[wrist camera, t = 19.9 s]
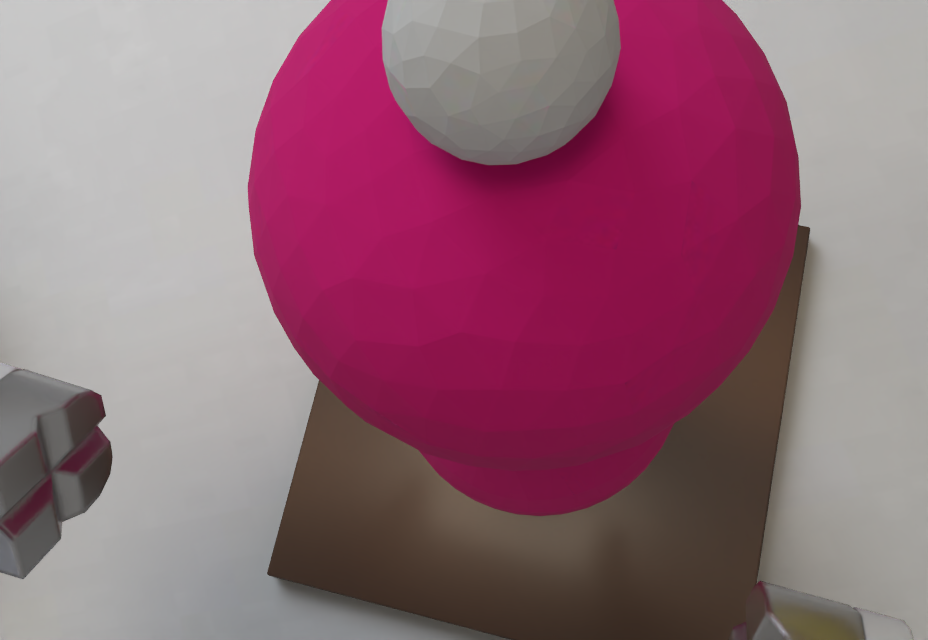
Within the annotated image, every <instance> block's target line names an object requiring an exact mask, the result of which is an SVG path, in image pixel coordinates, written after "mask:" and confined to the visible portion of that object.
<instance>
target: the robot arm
mask: <svg viewBox="0 0 928 640" xmlns="http://www.w3.org/2000/svg"><path fill="white" fill-rule="evenodd" d="M105 416H106V414H105V410H104V406H103V401H102V397H101V395H99V394H97V393H95V392H93V391H91V390H89V389H86V388H82V387H79V386H76V385H73V384H70V383H67V382H63V381H60V380H57V379H54V378H51V377H48V376H44V375H41V374H38V373H35V372H32V371H29V370H25V369H20V368H17V367H14V366H11V365H7V364H4V363H1V362H0V572H1V573H4V574H8V575H11V576H14V577H18V578H21V579H24V578H25V577H26V576H27V575H28V574H29V573H30V571H31V570H32V569H33V568H34V567H35V566H36V565H37V564H38V563H39V562H40V561H41V560H42V559H43V557H44V556H45V555H46V554H47V553H48V552H49V551H50V550H51V549H52V548H53V547H54V546H55V544H56V543H57V542H58V541H59V540H60V539H61V532H62V522H63V521H65V520H68V519H70V518H73V517H75V516H77V515H80V514H82V513H85V512H86V511H87V510H88V508H89V507H90V506H91V505H92V504H93V503H94V502H95V500H96V499H97V498H98V497H99V496H100V494H101V492H102V490H103V488H104V486H105V484H106V482H107V480H108V477H109V475H110V471H111V464H112V450H111V444H110V441H109V440H108V439H107V437H106V436H105V435H104V434H103V432H102V431H101V430H100V428H99V427H98V426H97V425H98V424H99V423H100V422H101V421H102V420H103V418H104V417H105ZM728 640H914V639H913V635H912V631H911V629H910V628H909V626H908V625H907V624H906V622H905V621H904V620H900V619H896V618H893V617H889V616H886V615H882V614H878V613H875V612H871V611H868V610H864V609H860V608H857V607H854V608H852V607H851V606H850V605H847V604H843V603H839V602H836V601H832V600H828V599H825V598H821V597H817V596H814V595H810V594H807V593H803V592H799V591H796V590H792V589H788V588H785V587H781V586H777V585H774V584H770V583H767V582H763V581H759V582H758V583H757V584H756V585H755V586H754V587H753V589H752V591H751V592H750V594H749V596H748V598H747V600H746V622H744V623H742V624H739V625H737V626H734V627H733V629H732V631H731V633H730V636H729V638H728Z"/></svg>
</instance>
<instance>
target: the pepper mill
mask: <svg viewBox="0 0 928 640" xmlns="http://www.w3.org/2000/svg"><path fill="white" fill-rule="evenodd" d="M248 201H249V212H250V221H251V230H252V239H253V248H254V256H255V259H256V261H257V264H258V267H259V270H260V273H261V276H262V279H263V281H264V284H265V287H266V290H267V293H268V296H269V299H270V302H271V304H272V307H273V310H274V313H275V315H276V316H277V318H278V320H279V322H280V323H281V325H282V327H283V329H284V331H285V332H286V334H287V336H288V338H289V339H290V341H291V343H292V345H293V347H294V348H295V350H296V351H297V352H298V354H299V355H300V356H301V358H302V359H303V360H304V362H305V363H306V365H307V366H308V367H309V369H310V370H311V371H312V373H313V374H314V375H315V376H316V377H317V378H318V379H319V380H320V381H321V382H322V383H323V384H324V385H325V386H326V387H327V388H328V389H329V390H330V391H331V392H332V393H333V394H334V395H335V396H336V397H337V398H338V399H340V400H341V401H342V402H343V403H344V404H345V405H346V406H347V407H348V408H349V409H350V410H352V411H353V412H354V413H355V414H357V415H358V416H359V417H360V418H361V419H363V420H364V421H365V422H367V423H369V424H370V425H372V426H374V427H376V428H378V429H380V430H382V431H384V432H385V433H387V434H389V435H391V436H393V437H395V438H397V439H399V440H401V441H402V442H404V443H406V444H408V445H410V446H412V447H414V448H416V449H417V450H419V452H420V453H421V454H422V455H423V456H424V458H425V459H426V460H427V461H428V463H429V464H430V465H431V466H432V467H433V469H434V470H435V471H436V472H437V473H438V474H439V475H440V476H441V477H442V478H443V479H444V480H446V481H447V482H448V483H449V484H450V485H451V486H453V487H454V488H455V489H457V490H458V491H460V492H461V493H463V494H465V495H466V496H468V497H470V498H471V499H473V500H475V501H477V502H480V503H482V504H484V505H487V506H489V507H492V508H494V509H498V510H502V511H506V512H510V513H514V514H521V515H533V516H547V515H559V514H566V513H570V512H574V511H578V510H582V509H586V508H588V507H590V506H593V505H595V504H597V503H600V502H602V501H604V500H607V499H608V498H610V497H612V496H613V495H615V494H616V493H618V492H619V491H621V490H622V489H624V488H625V487H627V486H628V485H629V484H630V483H631V482H632V481H634V480H635V479H636V478H637V477H638V476H639V475H640V474H641V473H642V472H643V471H644V470H645V469H646V468H647V467H648V465H649V464H650V463H651V461H652V460H653V459H654V457H655V456H656V455H657V453H658V452H659V451H660V449H661V448H662V446H663V444H664V442H665V440H666V439H667V437H668V435H669V433H670V431H671V429H672V427H673V425H674V423H676V422H677V421H679V420H680V419H682V418H684V417H685V416H687V415H688V414H690V413H691V412H692V411H693V410H694V409H695V408H696V407H697V406H698V405H699V404H701V403H702V402H703V401H704V400H705V399H706V398H707V397H708V396H709V395H710V394H712V393H713V392H714V391H715V390H716V389H717V388H718V387H719V386H720V385H721V384H722V383H723V382H724V381H725V379H726V378H727V377H728V376H729V375H730V373H731V372H732V371H733V370H734V369H735V368H736V366H737V365H738V364H739V363H740V362H741V360H742V359H743V358H744V357H745V356H746V355H747V353H748V352H749V351H750V349H751V347H752V346H753V344H754V342H755V341H756V339H757V337H758V336H759V334H760V332H761V331H762V329H763V327H764V326H765V324H766V322H767V321H768V319H769V317H770V316H771V314H772V312H773V310H774V308H775V305H776V302H777V300H778V297H779V294H780V291H781V288H782V286H783V283H784V280H785V277H786V275H787V272H788V269H789V266H790V264H791V261H792V258H793V254H794V248H795V241H796V235H797V228H798V222H799V215H800V209H801V198H800V180H799V161H798V154H797V149H796V144H795V139H794V135H793V130H792V125H791V121H790V116H789V111H788V107H787V102H786V100H785V98H784V95H783V93H782V91H781V89H780V87H779V84H778V82H777V80H776V78H775V76H774V74H773V71H772V69H771V67H770V65H769V63H768V60H767V58H766V56H765V54H764V52H763V51H762V50H761V48H760V47H759V45H758V44H757V42H756V41H755V40H754V38H753V37H752V35H751V34H750V33H749V31H748V30H747V28H746V27H745V26H744V24H743V23H742V21H741V20H740V18H739V17H738V16H737V14H736V13H734V12H733V11H732V10H731V9H730V8H729V7H728V6H727V5H726V4H725V3H724V2H723V1H722V0H331V1H330V2H329V3H328V4H327V5H326V7H325V8H324V9H323V10H322V11H321V12H320V13H319V14H318V16H317V17H316V18H315V19H314V20H313V21H312V22H311V23H310V25H309V26H308V27H307V28H306V29H305V30H304V31H303V32H302V34H301V35H300V36H299V37H298V39H297V41H296V42H295V44H294V46H293V48H292V49H291V51H290V53H289V54H288V56H287V58H286V59H285V61H284V63H283V65H282V66H281V68H280V70H279V71H278V73H277V75H276V77H275V78H274V80H273V83H272V85H271V88H270V91H269V94H268V97H267V100H266V102H265V105H264V108H263V111H262V114H261V117H260V119H259V122H258V125H257V128H256V132H255V139H254V146H253V153H252V160H251V168H250V175H249V182H248Z"/></svg>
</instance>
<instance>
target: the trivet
mask: <svg viewBox="0 0 928 640" xmlns="http://www.w3.org/2000/svg"><path fill="white" fill-rule="evenodd" d="M809 234H810V228H809V227H805V226H799V225H798V228H797V235H796V241H795V248H794V254H793V258H792V261H791V264H790V266H789V269H788V272H787V275H786V277H785V280H784V283H783V286H782V288H781V291H780V294H779V297H778V300H777V302H776V305H775V308H774V310H773V312H772V314H771V316H770V317H769V319H768V321H767V322H766V324H765V326H764V327H763V329H762V331H761V332H760V334H759V336H758V337H757V339H756V341H755V342H754V344H753V346H752V347H751V349H750V351H749V352H748V353H747V355H746V356H745V357H744V358H743V359H742V360H741V362H740V363H739V364H738V365H737V366H736V368H735V369H734V370H733V371H732V372H731V373H730V375H729V376H728V377H727V378H726V379H725V381H724V382H723V383H722V384H721V385H720V386H719V387H718V388H717V389H716V390H715V391H714V392H713V393H712V394H710V395H709V396H708V397H707V398H706V399H705V400H704V401H703V402H702V403H701V404H699V405H698V406H697V407H696V408H695V409H694V410H693V411H692V412H691V413H690V414H688V415H687V416H685V417H684V418H682V419H680V420H679V421H677V422H676V423H674V425H673V427H672V429H671V431H670V433H669V435H668V437H667V439H666V440H665V442H664V444H663V446H662V448H661V449H660V451H659V452H658V453H657V455H656V456H655V457H654V459H653V460H652V461H651V463H650V464H649V465H648V467H647V468H646V469H645V470H644V471H643V472H642V473H641V474H640V475H639V476H638V477H637V478H636V479H635V480H634V481H632V482H631V483H630V484H629V485H628V486H627V487H625V488H624V489H622V490H621V491H619V492H618V493H616V494H615V495H613V496H612V497H610V498H608V499H607V500H604V501H602V502H600V503H597V504H595V505H593V506H590V507H588V508H586V509H582V510H578V511H574V512H570V513H566V514H559V515H547V516H533V515H521V514H514V513H510V512H506V511H502V510H498V509H494V508H492V507H489V506H487V505H484V504H482V503H480V502H477V501H475V500H473V499H471V498H470V497H468V496H466V495H465V494H463V493H461V492H460V491H458V490H457V489H455V488H454V487H453V486H451V485H450V484H449V483H448V482H447V481H446V480H444V479H443V478H442V477H441V476H440V475H439V474H438V473H437V472H436V471H435V470H434V469H433V467H432V466H431V465H430V464H429V463H428V461H427V460H426V459H425V458H424V456H423V455H422V454H421V453H420V452H419V450H417V449H416V448H414V447H412V446H410V445H408V444H406V443H404V442H402V441H401V440H399V439H397V438H395V437H393V436H391V435H389V434H387V433H385V432H384V431H382V430H380V429H378V428H376V427H374V426H372V425H370V424H369V423H367V422H365V421H364V420H363V419H361V418H360V417H359V416H358V415H357V414H355V413H354V412H353V411H352V410H350V409H349V408H348V407H347V406H346V405H345V404H344V403H343V402H342V401H341V400H340V399H338V398H337V397H336V396H335V395H334V394H333V393H332V392H331V391H330V390H329V389H328V388H327V387H326V386H325V385H324V384H323V383H322V382H321V381H320V380H319V383H318V386H317V390H316V394H315V397H314V401H313V405H312V409H311V412H310V416H309V420H308V423H307V427H306V431H305V435H304V438H303V442H302V446H301V449H300V453H299V457H298V461H297V464H296V468H295V472H294V475H293V479H292V483H291V486H290V490H289V494H288V498H287V501H286V505H285V509H284V512H283V516H282V520H281V524H280V527H279V531H278V535H277V538H276V542H275V546H274V550H273V553H272V557H271V561H270V564H269V568H268V572H267V574H268V575H269V576H273V577H277V578H280V579H284V580H288V581H292V582H295V583H299V584H303V585H307V586H311V587H314V588H318V589H322V590H326V591H329V592H333V593H337V594H341V595H345V596H348V597H352V598H356V599H360V600H363V601H367V602H371V603H375V604H379V605H382V606H386V607H390V608H394V609H398V610H401V611H405V612H409V613H413V614H416V615H420V616H424V617H428V618H432V619H435V620H439V621H443V622H447V623H450V624H454V625H458V626H462V627H466V628H469V629H473V630H477V631H481V632H484V633H488V634H492V635H496V636H500V637H503V638H507V639H511V640H728V638H729V636H730V633H731V631H732V629H733V627H734V626H737V625H739V624H742V623H744V622H746V600H747V598H748V596H749V594H750V592H751V591H752V589H753V587H754V586H755V585H756V583H757V576H758V570H759V563H760V556H761V550H762V543H763V537H764V530H765V523H766V517H767V510H768V504H769V497H770V491H771V484H772V477H773V471H774V464H775V458H776V451H777V444H778V438H779V431H780V425H781V418H782V412H783V405H784V398H785V392H786V385H787V379H788V372H789V365H790V359H791V352H792V346H793V339H794V333H795V326H796V319H797V313H798V306H799V300H800V293H801V286H802V280H803V273H804V267H805V260H806V253H807V247H808V240H809Z"/></svg>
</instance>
